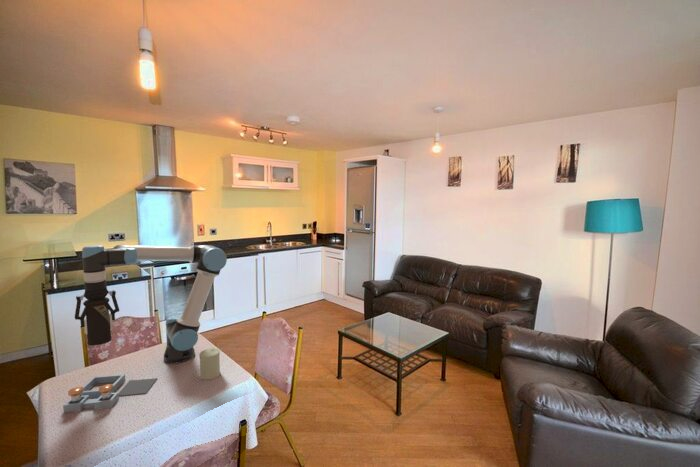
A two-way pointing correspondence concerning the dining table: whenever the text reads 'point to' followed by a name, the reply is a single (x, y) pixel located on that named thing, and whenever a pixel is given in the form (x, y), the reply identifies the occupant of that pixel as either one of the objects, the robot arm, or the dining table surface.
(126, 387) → the pad
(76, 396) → the plunger
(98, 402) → the plunger base
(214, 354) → the can
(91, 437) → the dining table surface
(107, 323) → the container
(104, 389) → the plunger
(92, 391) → the filter socket
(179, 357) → the robot arm
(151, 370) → the dining table surface
